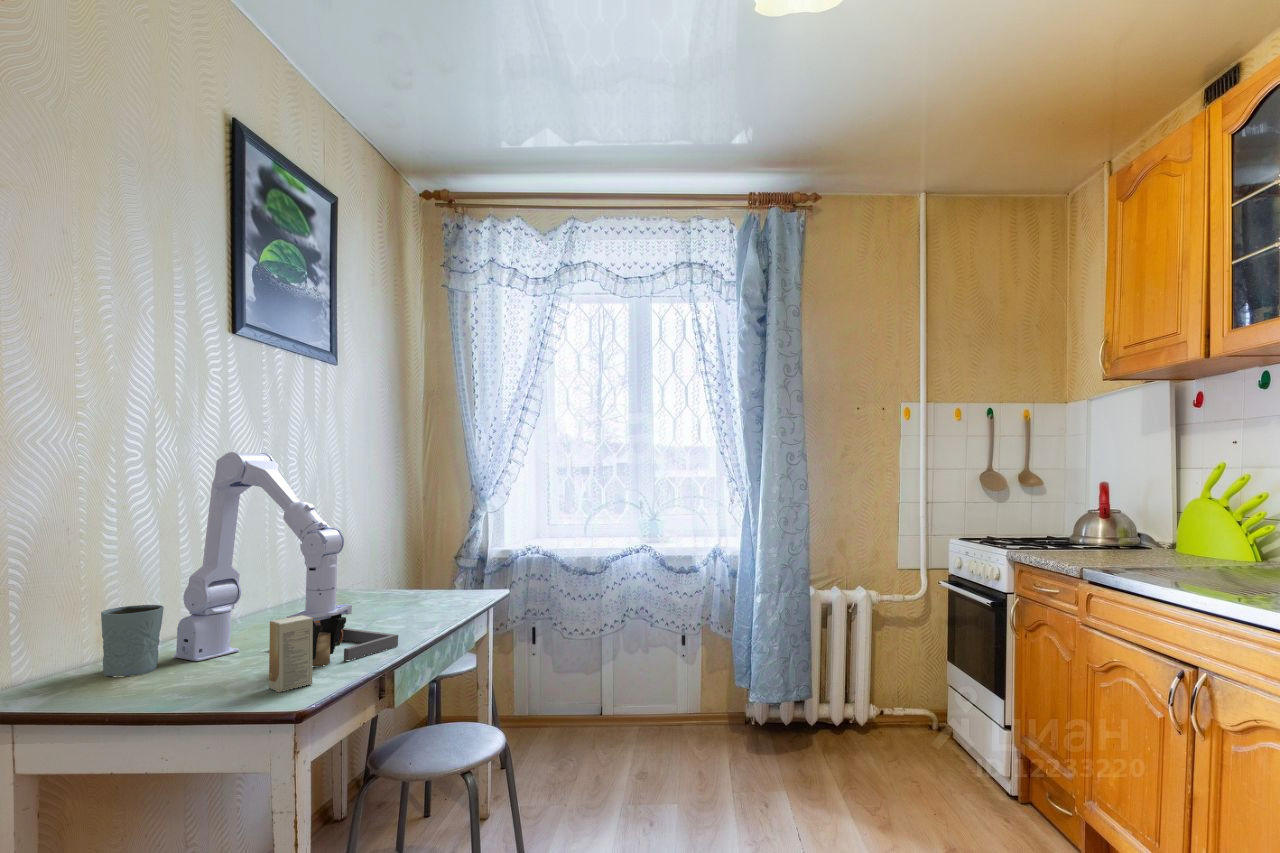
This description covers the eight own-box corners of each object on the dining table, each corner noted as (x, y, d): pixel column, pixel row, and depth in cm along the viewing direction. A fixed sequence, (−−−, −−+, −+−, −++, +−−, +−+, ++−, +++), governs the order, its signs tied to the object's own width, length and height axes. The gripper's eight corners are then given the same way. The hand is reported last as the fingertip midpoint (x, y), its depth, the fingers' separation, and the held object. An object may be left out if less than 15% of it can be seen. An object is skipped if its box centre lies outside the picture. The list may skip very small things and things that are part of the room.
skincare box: (301, 680, 134) (303, 614, 134) (313, 685, 131) (315, 617, 132) (266, 688, 129) (268, 619, 129) (277, 693, 126) (279, 623, 127)
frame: (348, 661, 147) (348, 649, 147) (272, 649, 156) (272, 638, 156) (397, 646, 160) (398, 634, 160) (325, 636, 169) (325, 625, 169)
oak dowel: (317, 668, 142) (318, 637, 142) (303, 665, 144) (304, 635, 144) (334, 663, 146) (335, 633, 146) (320, 660, 147) (320, 631, 148)
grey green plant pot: (111, 681, 133) (114, 616, 133) (88, 672, 138) (91, 610, 139) (170, 668, 141) (173, 607, 142) (147, 661, 147) (149, 602, 147)
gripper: (305, 595, 137) (303, 667, 137) (363, 584, 151) (361, 650, 150) (279, 592, 140) (277, 663, 139) (338, 582, 153) (336, 646, 153)
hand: (319, 656), depth 145 cm, fingers closed on oak dowel, 4 cm apart
